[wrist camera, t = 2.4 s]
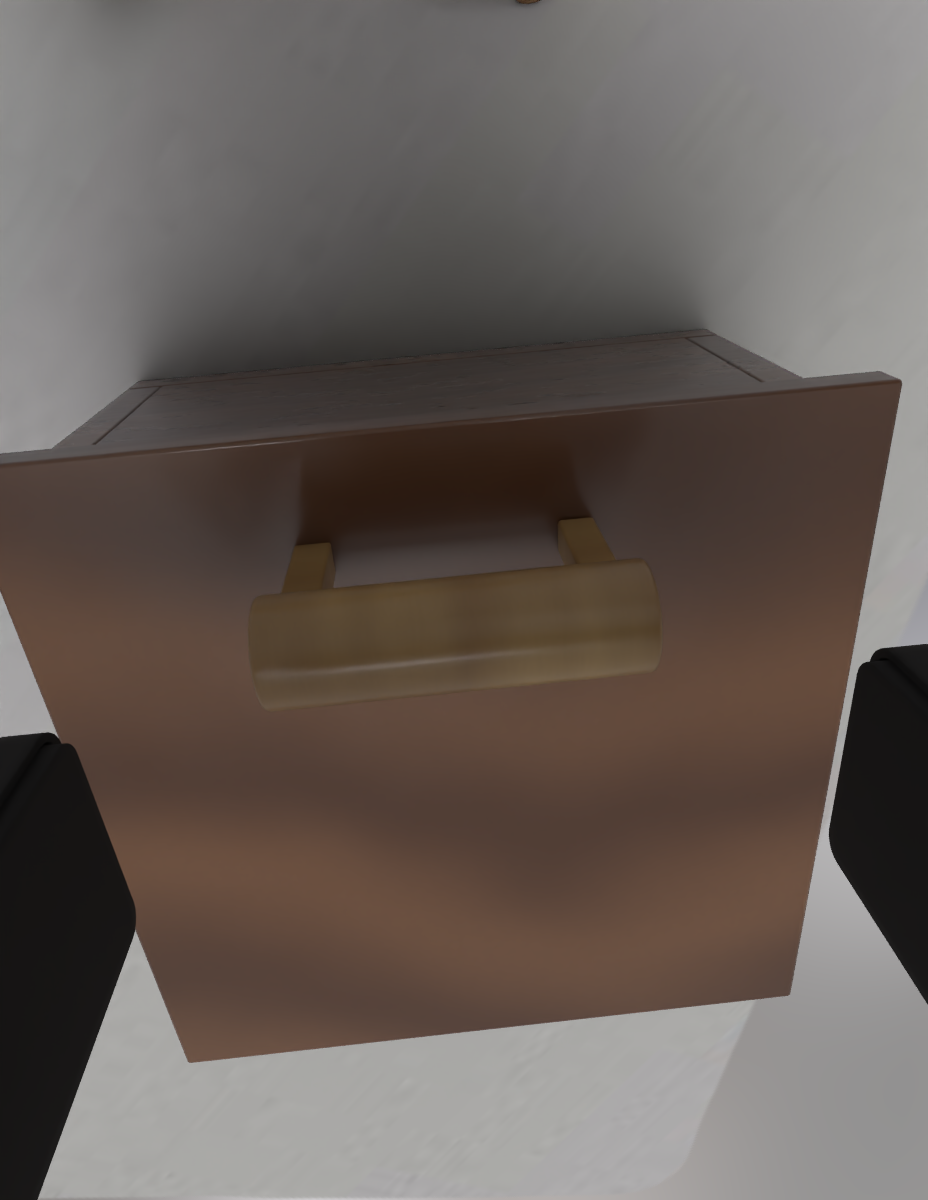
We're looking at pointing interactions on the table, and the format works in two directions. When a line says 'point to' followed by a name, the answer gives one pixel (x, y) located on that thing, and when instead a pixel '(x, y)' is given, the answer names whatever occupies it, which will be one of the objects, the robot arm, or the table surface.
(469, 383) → the chest
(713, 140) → the table surface
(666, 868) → the lid
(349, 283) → the table surface
